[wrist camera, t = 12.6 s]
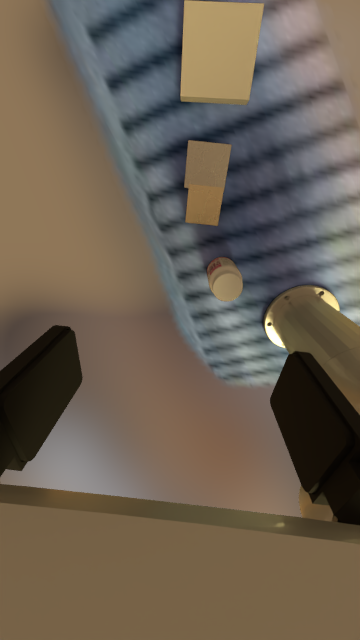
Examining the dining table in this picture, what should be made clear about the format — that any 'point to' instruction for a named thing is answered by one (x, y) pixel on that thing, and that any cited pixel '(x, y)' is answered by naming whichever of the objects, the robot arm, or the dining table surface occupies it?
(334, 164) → the dining table surface
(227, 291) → the pill bottle
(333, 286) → the dining table surface
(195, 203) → the beige boxy piece
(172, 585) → the robot arm
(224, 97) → the block
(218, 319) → the dining table surface
